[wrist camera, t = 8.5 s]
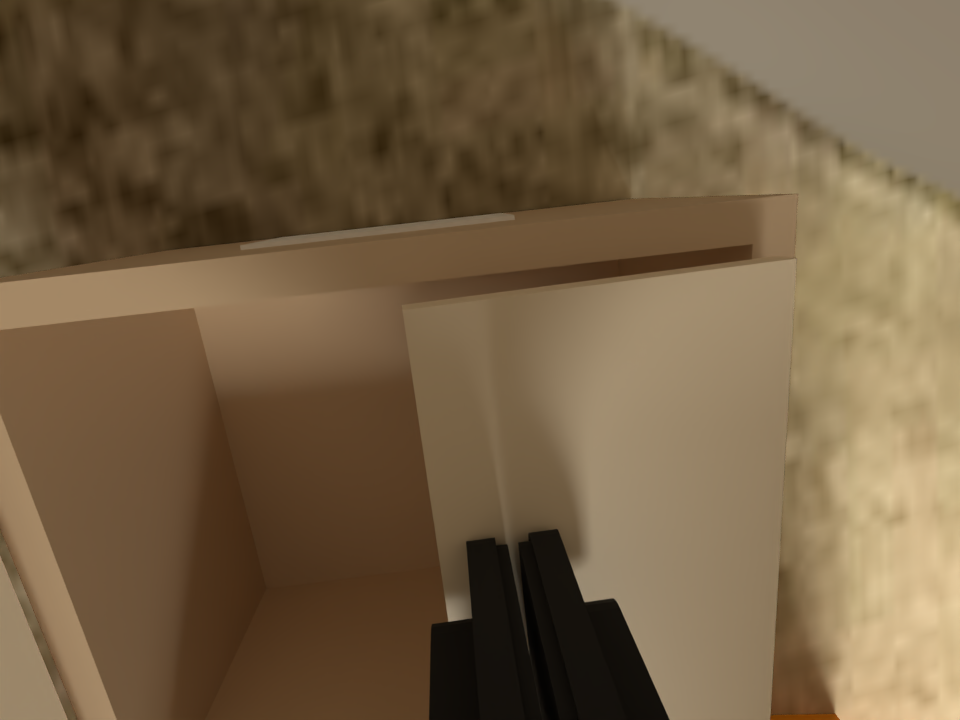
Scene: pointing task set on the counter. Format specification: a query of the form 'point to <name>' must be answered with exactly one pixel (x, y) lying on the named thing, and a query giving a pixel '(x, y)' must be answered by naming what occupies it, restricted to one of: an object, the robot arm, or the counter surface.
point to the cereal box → (805, 717)
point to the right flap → (624, 456)
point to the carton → (271, 449)
